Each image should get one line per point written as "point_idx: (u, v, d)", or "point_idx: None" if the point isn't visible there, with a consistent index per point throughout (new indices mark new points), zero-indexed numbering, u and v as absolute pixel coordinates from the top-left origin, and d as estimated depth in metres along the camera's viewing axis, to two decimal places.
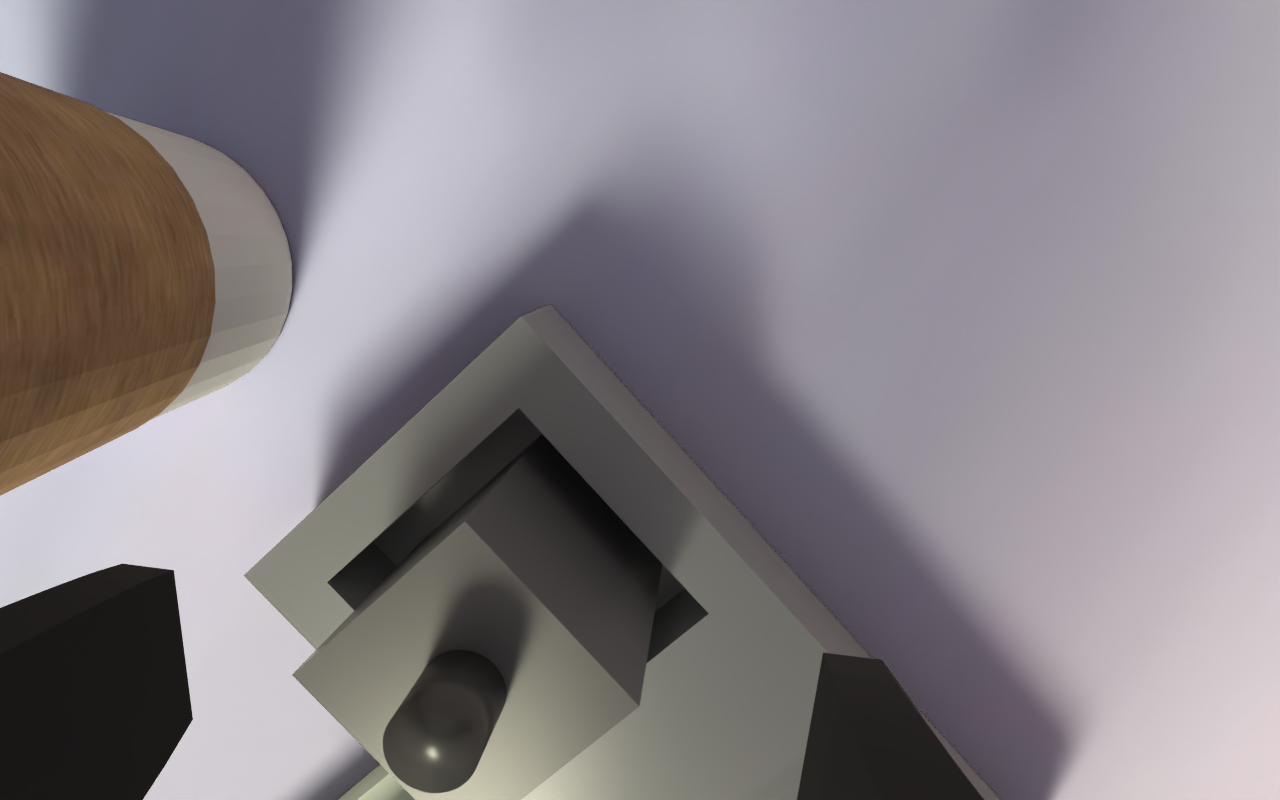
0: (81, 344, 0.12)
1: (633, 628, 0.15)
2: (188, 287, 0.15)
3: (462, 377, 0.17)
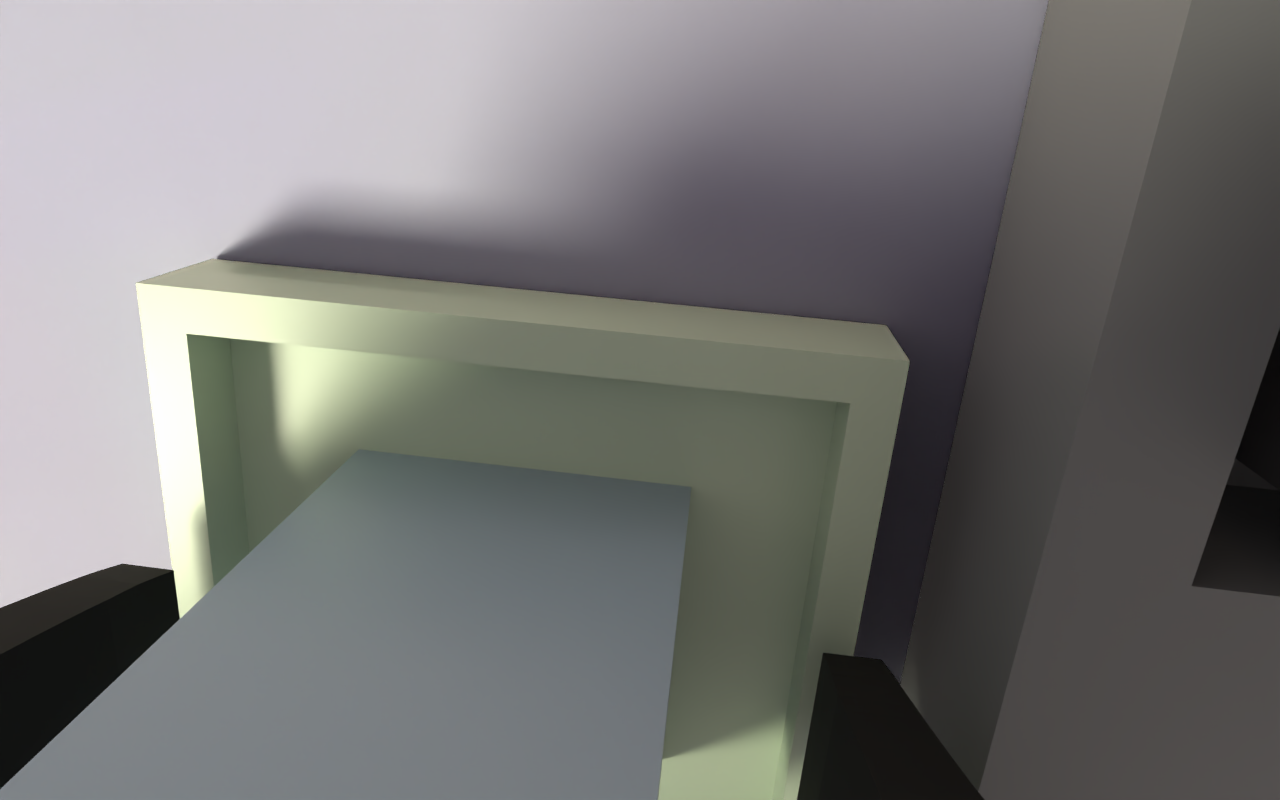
0: None
1: None
2: None
3: None
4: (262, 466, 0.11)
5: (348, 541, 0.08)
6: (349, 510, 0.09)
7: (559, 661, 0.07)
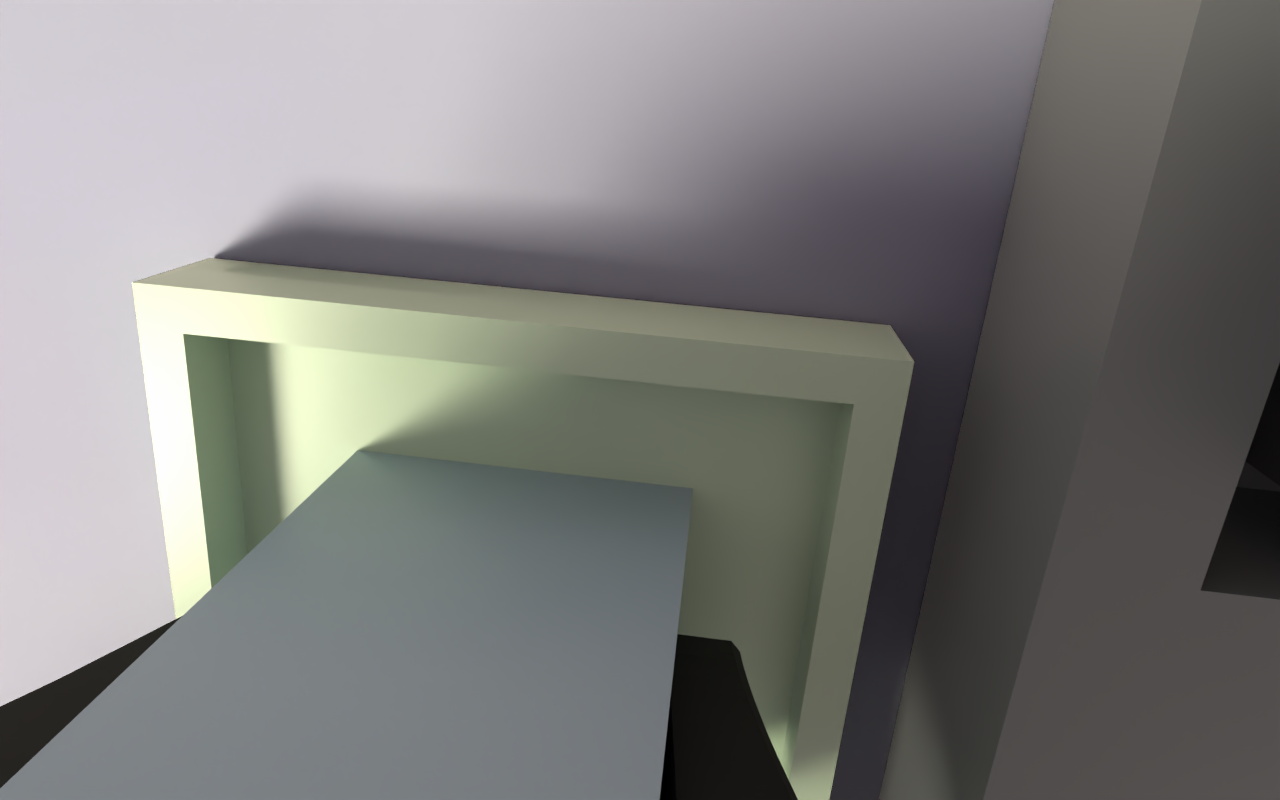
0: None
1: None
2: None
3: None
4: (260, 467, 0.10)
5: (346, 543, 0.08)
6: (347, 512, 0.09)
7: (559, 666, 0.07)
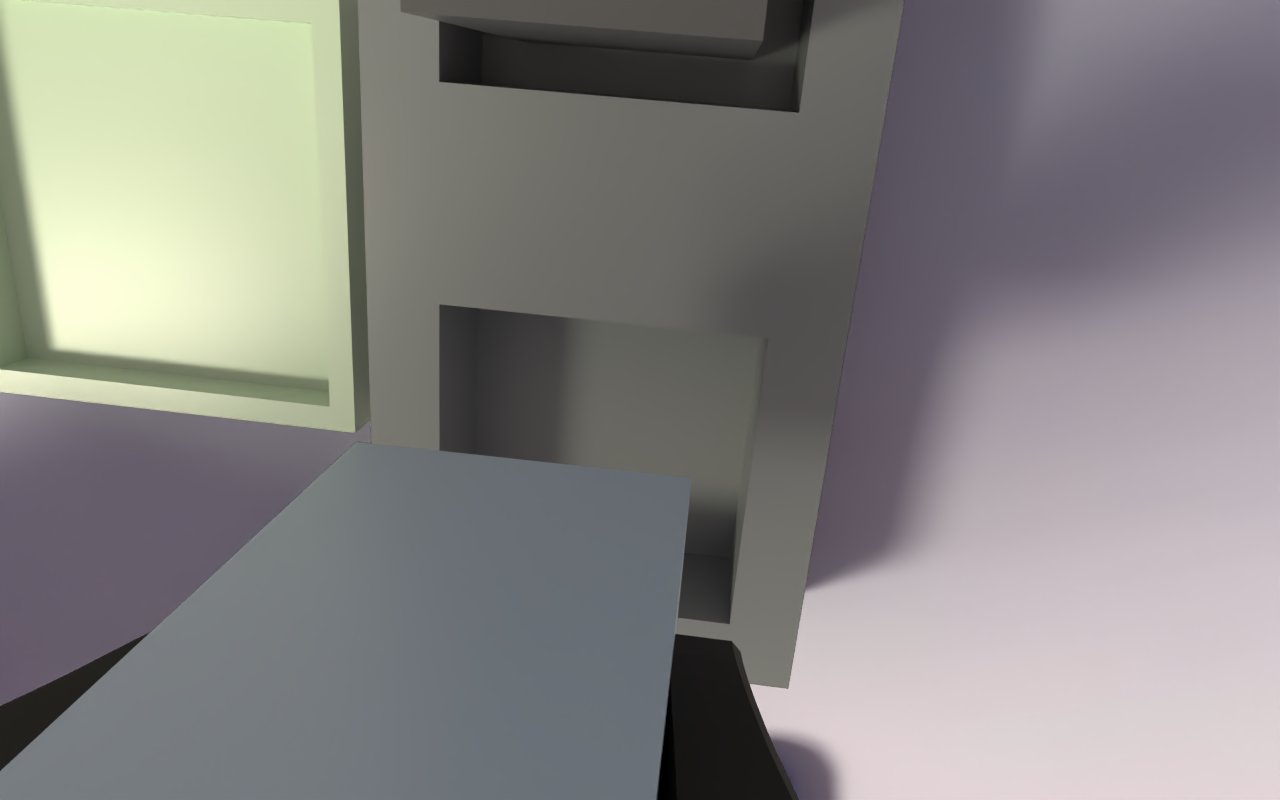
0: None
1: None
2: None
3: None
4: None
5: (345, 532, 0.08)
6: (346, 502, 0.09)
7: (558, 650, 0.07)
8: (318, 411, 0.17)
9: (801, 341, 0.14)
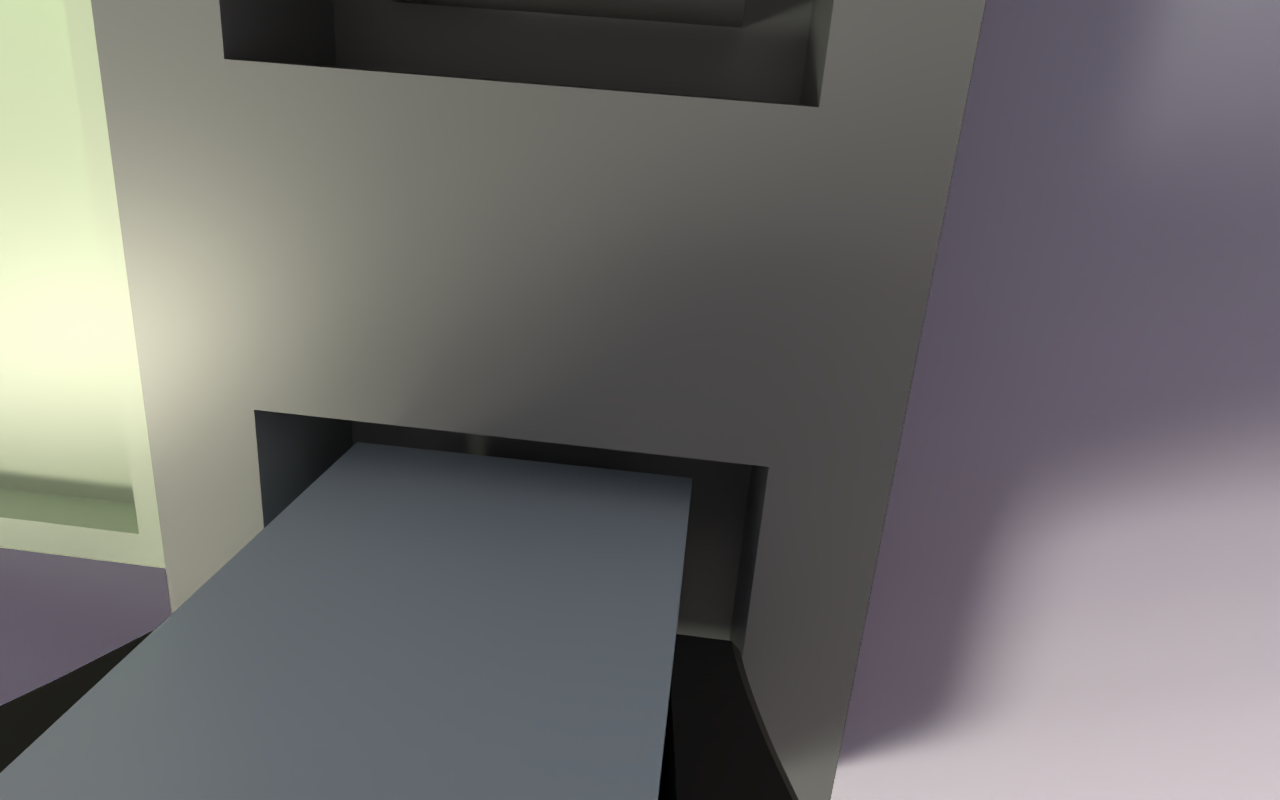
0: None
1: None
2: None
3: None
4: None
5: (346, 533, 0.08)
6: (347, 502, 0.09)
7: (559, 650, 0.07)
8: (124, 539, 0.12)
9: (821, 472, 0.09)
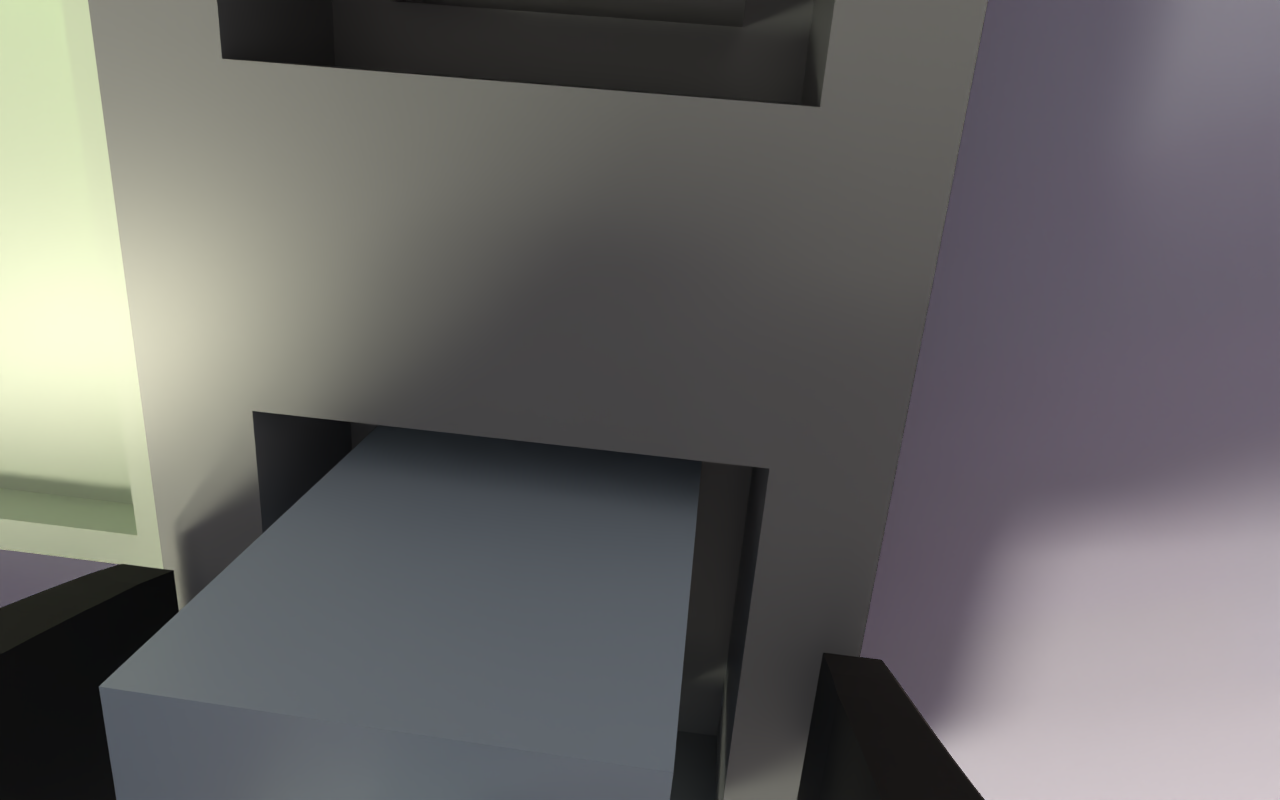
0: None
1: None
2: None
3: None
4: None
5: (409, 468, 0.10)
6: (406, 444, 0.10)
7: (598, 558, 0.08)
8: (122, 541, 0.12)
9: (822, 473, 0.09)
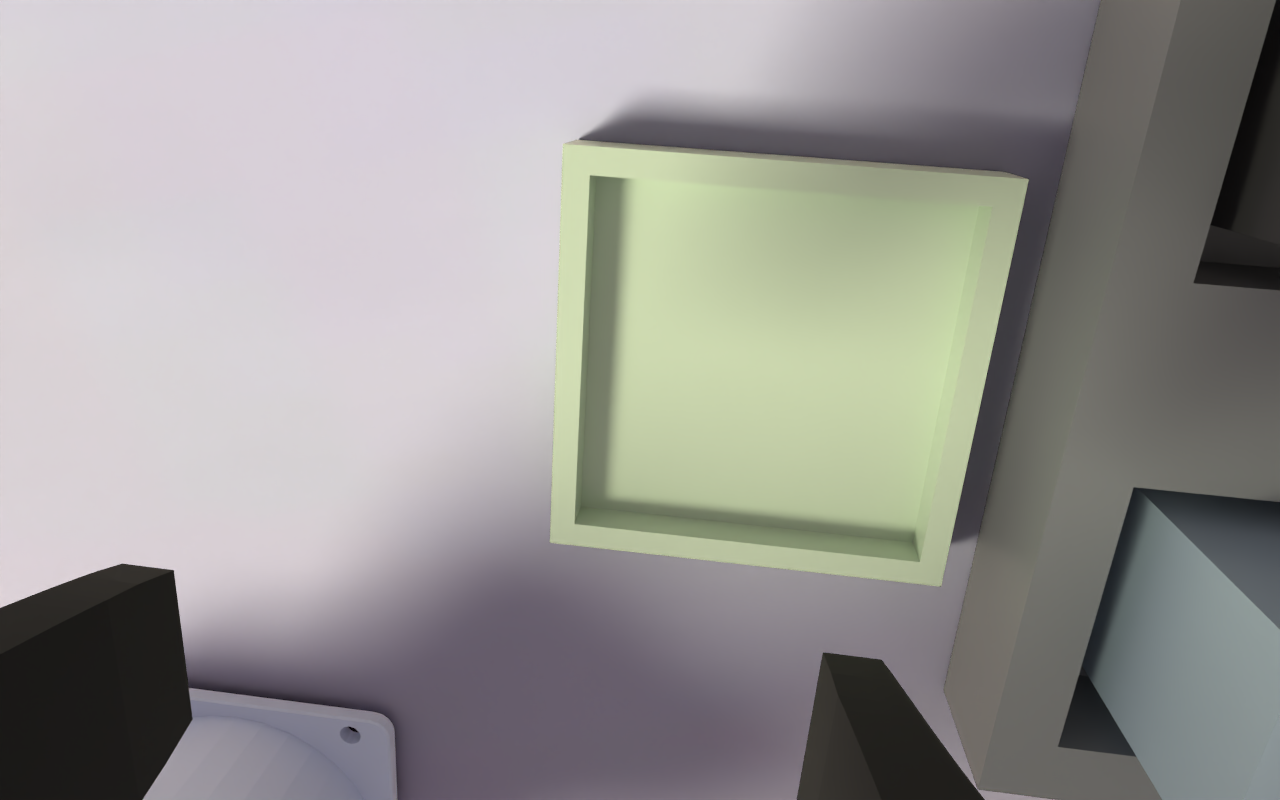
0: None
1: None
2: None
3: None
4: (605, 271, 0.17)
5: (1211, 521, 0.15)
6: (1180, 503, 0.15)
7: None
8: (905, 565, 0.17)
9: None
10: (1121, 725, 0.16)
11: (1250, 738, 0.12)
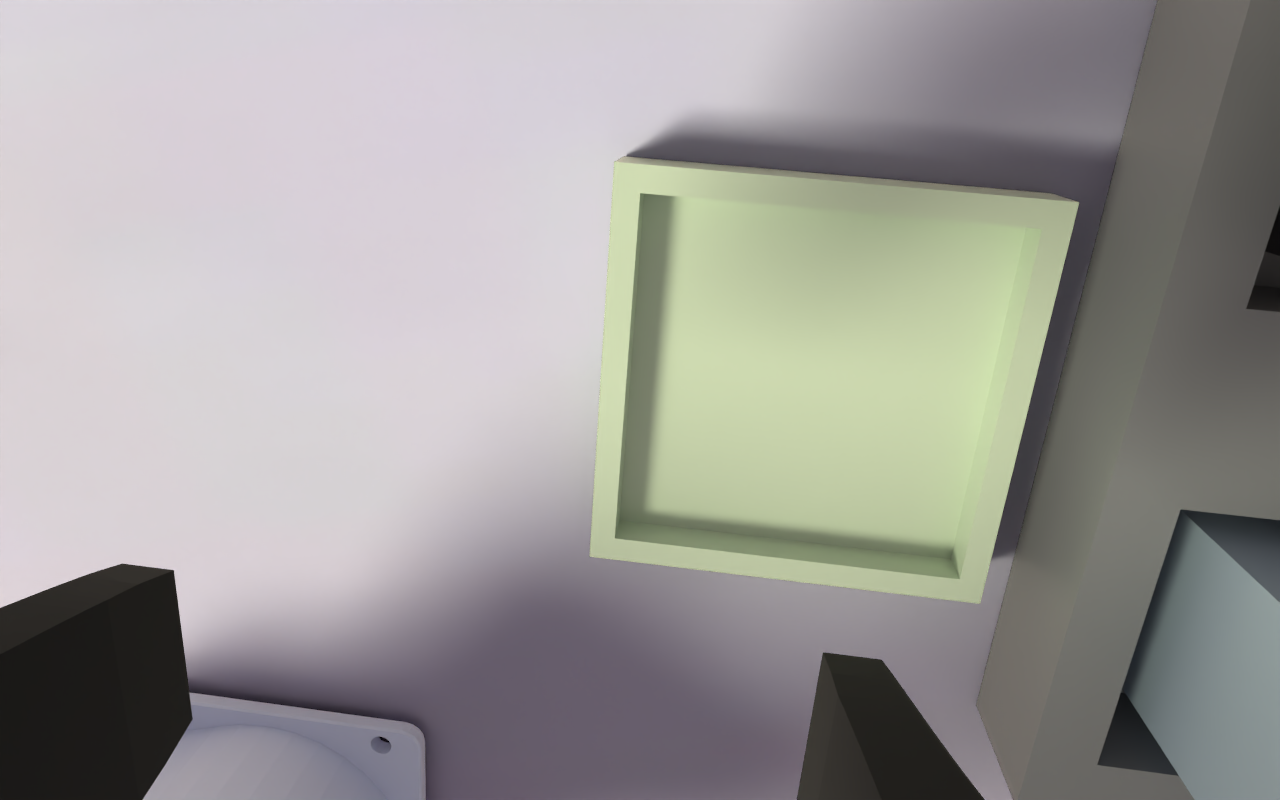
0: None
1: None
2: None
3: None
4: (650, 288, 0.17)
5: (1255, 543, 0.15)
6: (1222, 525, 0.16)
7: None
8: (944, 583, 0.17)
9: None
10: (1162, 744, 0.16)
11: None
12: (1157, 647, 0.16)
